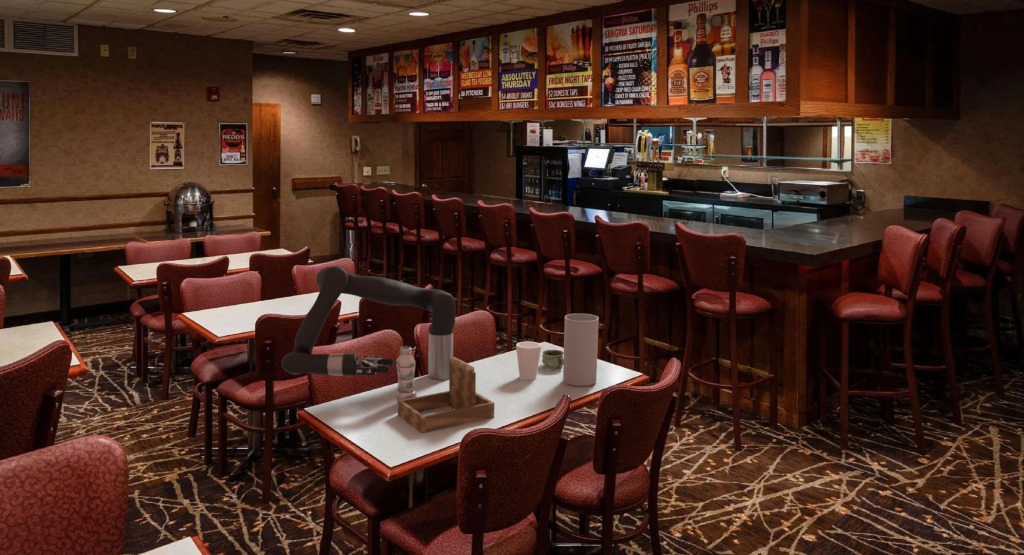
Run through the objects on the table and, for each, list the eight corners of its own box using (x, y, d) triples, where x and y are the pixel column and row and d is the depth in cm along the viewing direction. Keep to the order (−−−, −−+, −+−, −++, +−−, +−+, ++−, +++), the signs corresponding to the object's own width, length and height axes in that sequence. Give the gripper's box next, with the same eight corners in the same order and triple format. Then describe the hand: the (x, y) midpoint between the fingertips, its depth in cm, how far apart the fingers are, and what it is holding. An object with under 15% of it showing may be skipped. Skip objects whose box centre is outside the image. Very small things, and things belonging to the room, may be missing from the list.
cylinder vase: (562, 376, 289) (564, 313, 285) (594, 377, 289) (597, 313, 284) (563, 386, 277) (565, 320, 272) (597, 387, 277) (600, 321, 272)
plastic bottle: (412, 408, 253) (412, 350, 249) (393, 406, 254) (392, 349, 250) (419, 401, 259) (418, 345, 255) (400, 400, 260) (399, 344, 257)
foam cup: (512, 379, 284) (512, 346, 282) (520, 372, 293) (521, 340, 290) (535, 382, 281) (536, 349, 279) (543, 375, 290) (544, 343, 287)
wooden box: (397, 415, 246) (397, 363, 243) (467, 401, 260) (467, 351, 257) (422, 433, 231) (421, 378, 228) (494, 417, 245) (494, 365, 242)
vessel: (571, 369, 299) (571, 353, 298) (555, 373, 293) (555, 357, 292) (550, 362, 308) (550, 347, 307) (534, 366, 302) (534, 351, 301)
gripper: (338, 360, 246) (387, 361, 246) (347, 348, 260) (394, 349, 260) (338, 381, 248) (387, 382, 248) (347, 369, 262) (394, 370, 262)
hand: (391, 365), depth 254 cm, fingers open, 8 cm apart
